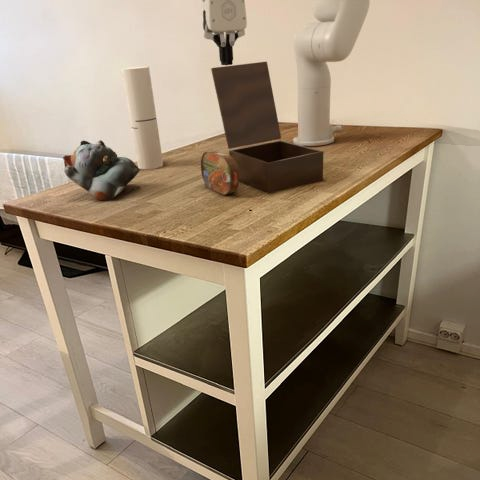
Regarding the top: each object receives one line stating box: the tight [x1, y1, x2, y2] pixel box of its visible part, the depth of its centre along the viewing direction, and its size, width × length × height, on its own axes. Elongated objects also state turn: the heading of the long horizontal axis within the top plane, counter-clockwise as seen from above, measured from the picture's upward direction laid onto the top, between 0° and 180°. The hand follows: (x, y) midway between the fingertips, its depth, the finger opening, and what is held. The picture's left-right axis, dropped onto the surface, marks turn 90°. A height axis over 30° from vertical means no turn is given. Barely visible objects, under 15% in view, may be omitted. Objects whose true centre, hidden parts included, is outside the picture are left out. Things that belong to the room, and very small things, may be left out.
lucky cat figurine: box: [62, 139, 141, 202], centre depth 115 cm, size 15×12×14 cm
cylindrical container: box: [120, 65, 164, 170], centre depth 132 cm, size 7×7×25 cm
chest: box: [228, 139, 325, 194], centre depth 117 cm, size 18×15×7 cm
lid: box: [210, 61, 282, 150], centre depth 119 cm, size 18×15×1 cm
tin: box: [200, 150, 240, 196], centre depth 111 cm, size 15×3×8 cm, turn 29°
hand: (226, 64), depth 121 cm, fingers closed
